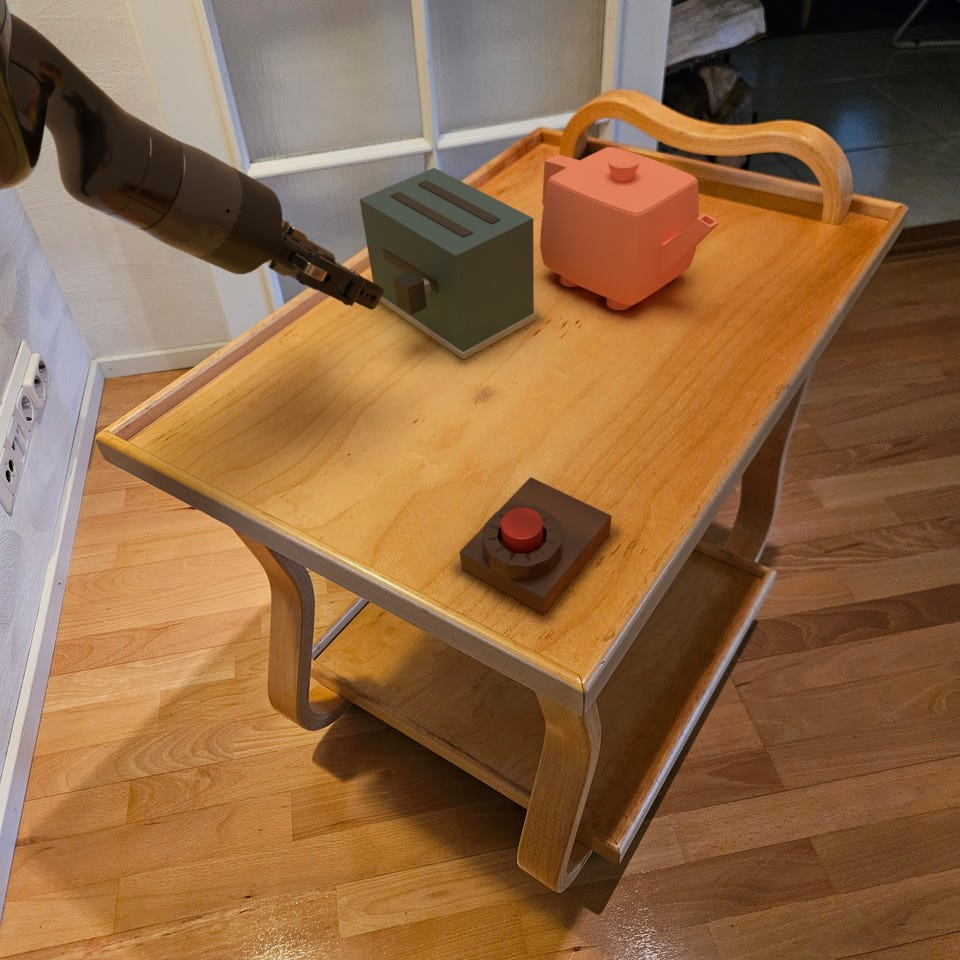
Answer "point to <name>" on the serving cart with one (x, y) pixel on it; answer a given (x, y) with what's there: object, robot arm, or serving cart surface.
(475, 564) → the switch block
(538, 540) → the power button
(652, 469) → the serving cart surface
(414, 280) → the slider
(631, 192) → the teapot
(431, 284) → the toaster
